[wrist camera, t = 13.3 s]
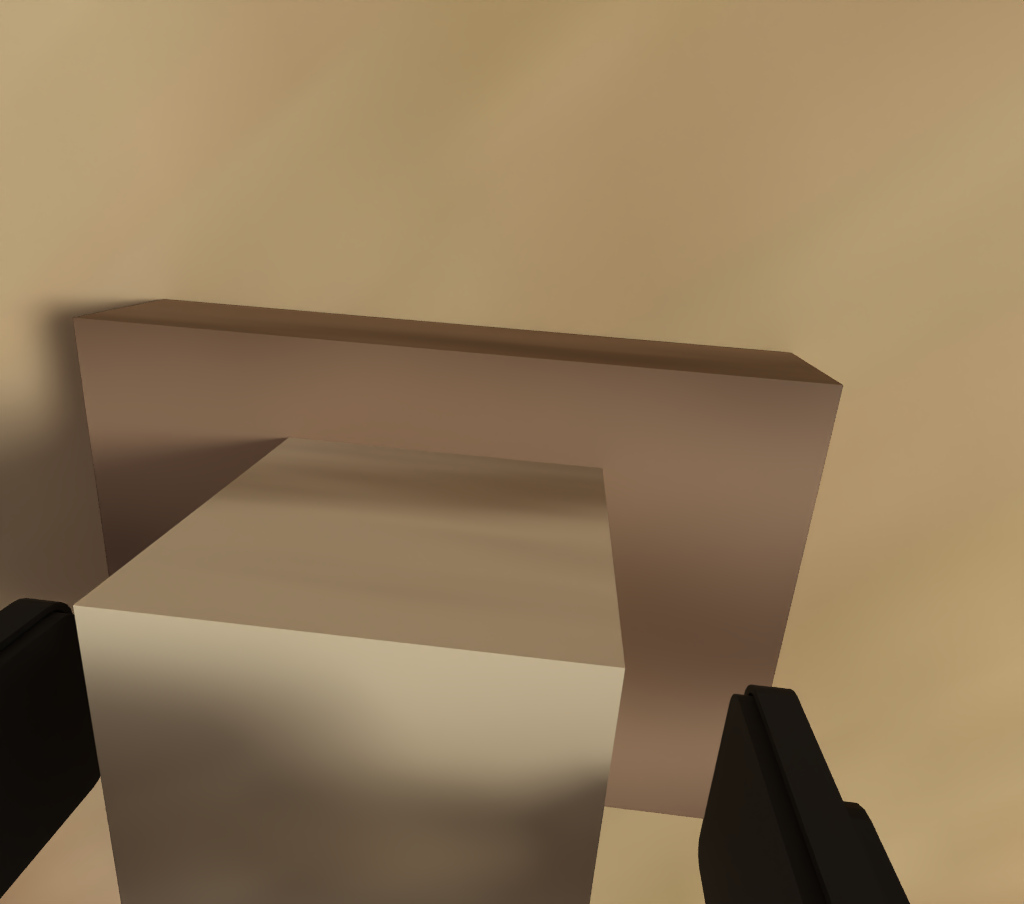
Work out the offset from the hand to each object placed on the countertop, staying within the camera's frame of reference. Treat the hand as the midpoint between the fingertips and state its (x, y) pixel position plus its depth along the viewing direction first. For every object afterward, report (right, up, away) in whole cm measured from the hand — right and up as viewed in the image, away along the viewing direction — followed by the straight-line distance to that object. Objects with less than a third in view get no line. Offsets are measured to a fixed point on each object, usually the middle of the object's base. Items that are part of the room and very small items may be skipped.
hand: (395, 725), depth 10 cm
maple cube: (0, +1, +4) cm, 4 cm away
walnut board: (0, +2, +7) cm, 7 cm away
